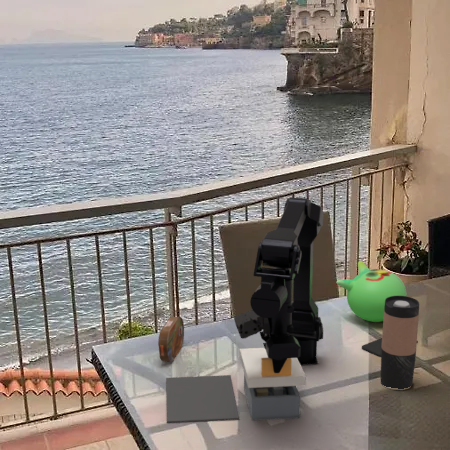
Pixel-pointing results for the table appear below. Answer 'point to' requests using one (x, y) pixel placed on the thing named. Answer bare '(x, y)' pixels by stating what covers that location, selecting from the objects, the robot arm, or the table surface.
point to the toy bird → (371, 292)
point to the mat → (200, 399)
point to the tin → (171, 339)
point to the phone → (374, 347)
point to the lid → (269, 370)
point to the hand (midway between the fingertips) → (276, 371)
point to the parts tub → (273, 402)
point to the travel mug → (399, 341)
